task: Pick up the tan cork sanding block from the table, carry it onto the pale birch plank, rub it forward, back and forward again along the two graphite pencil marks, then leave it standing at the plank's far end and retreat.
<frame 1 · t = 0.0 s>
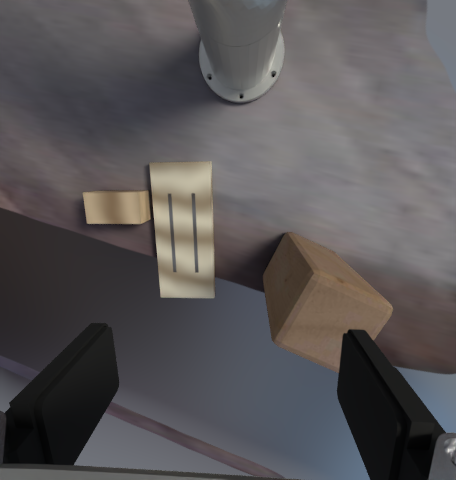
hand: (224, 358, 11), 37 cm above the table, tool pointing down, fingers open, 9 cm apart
birch plank: (185, 232, 48), on the table
wooden block: (297, 264, 48), on the table
sanding block: (125, 204, 47), on the table
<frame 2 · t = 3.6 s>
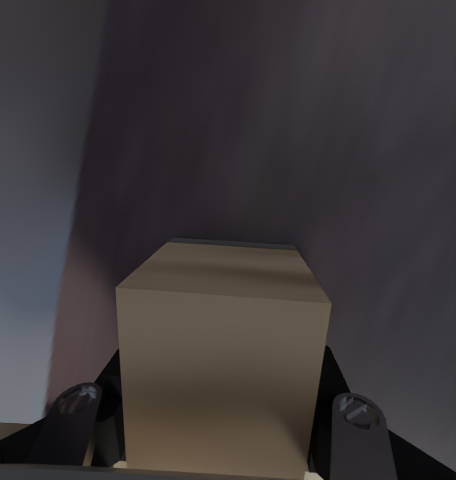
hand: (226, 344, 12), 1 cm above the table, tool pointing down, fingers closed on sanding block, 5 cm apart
sanding block: (227, 337, 12), on the table, touching gripper
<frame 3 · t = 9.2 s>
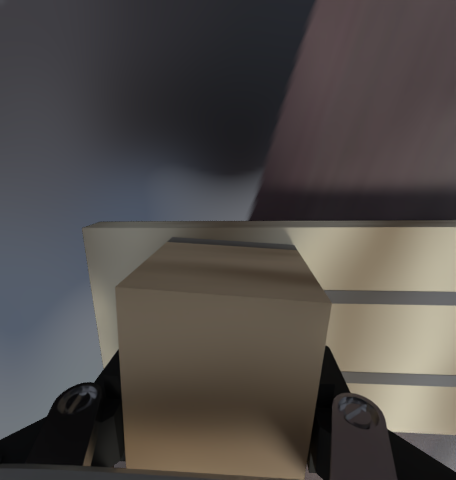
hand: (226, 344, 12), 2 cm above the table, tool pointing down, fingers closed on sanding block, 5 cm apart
birch plank: (349, 320, 13), on the table
sanding block: (227, 337, 12), point 2 cm above the table, touching gripper
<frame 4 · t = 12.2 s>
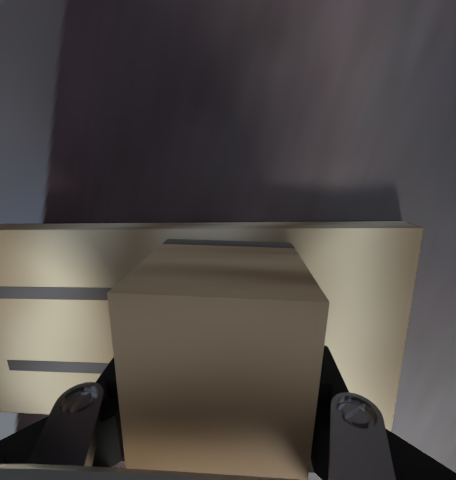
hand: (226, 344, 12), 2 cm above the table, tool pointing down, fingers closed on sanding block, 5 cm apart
birch plank: (149, 316, 14), on the table
sanding block: (227, 338, 12), point 2 cm above the table, touching gripper
when the fingers open (3 cm above the table, at t = 15.0 s): sanding block stays where it is, resting on birch plank.
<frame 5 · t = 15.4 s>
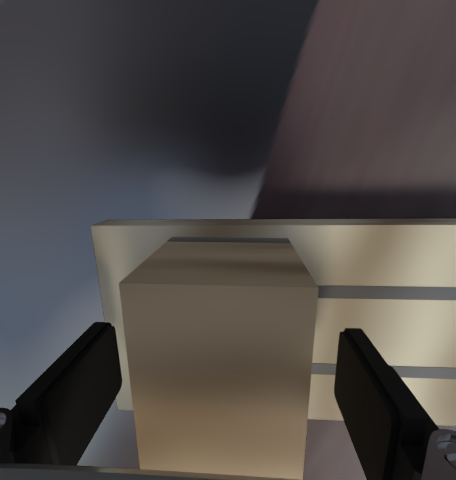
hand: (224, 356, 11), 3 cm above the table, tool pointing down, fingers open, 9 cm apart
birch plank: (347, 315, 14), on the table
sanding block: (229, 330, 13), point 2 cm above the table, touching birch plank
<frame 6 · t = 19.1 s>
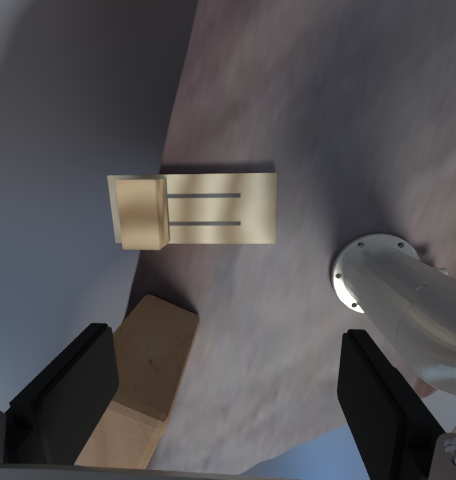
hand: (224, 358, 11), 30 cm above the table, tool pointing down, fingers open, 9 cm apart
birch plank: (193, 208, 40), on the table
wooden block: (164, 325, 46), on the table
sanding block: (151, 210, 39), point 2 cm above the table, touching birch plank
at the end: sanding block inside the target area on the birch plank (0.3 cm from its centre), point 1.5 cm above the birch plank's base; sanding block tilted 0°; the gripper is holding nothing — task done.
